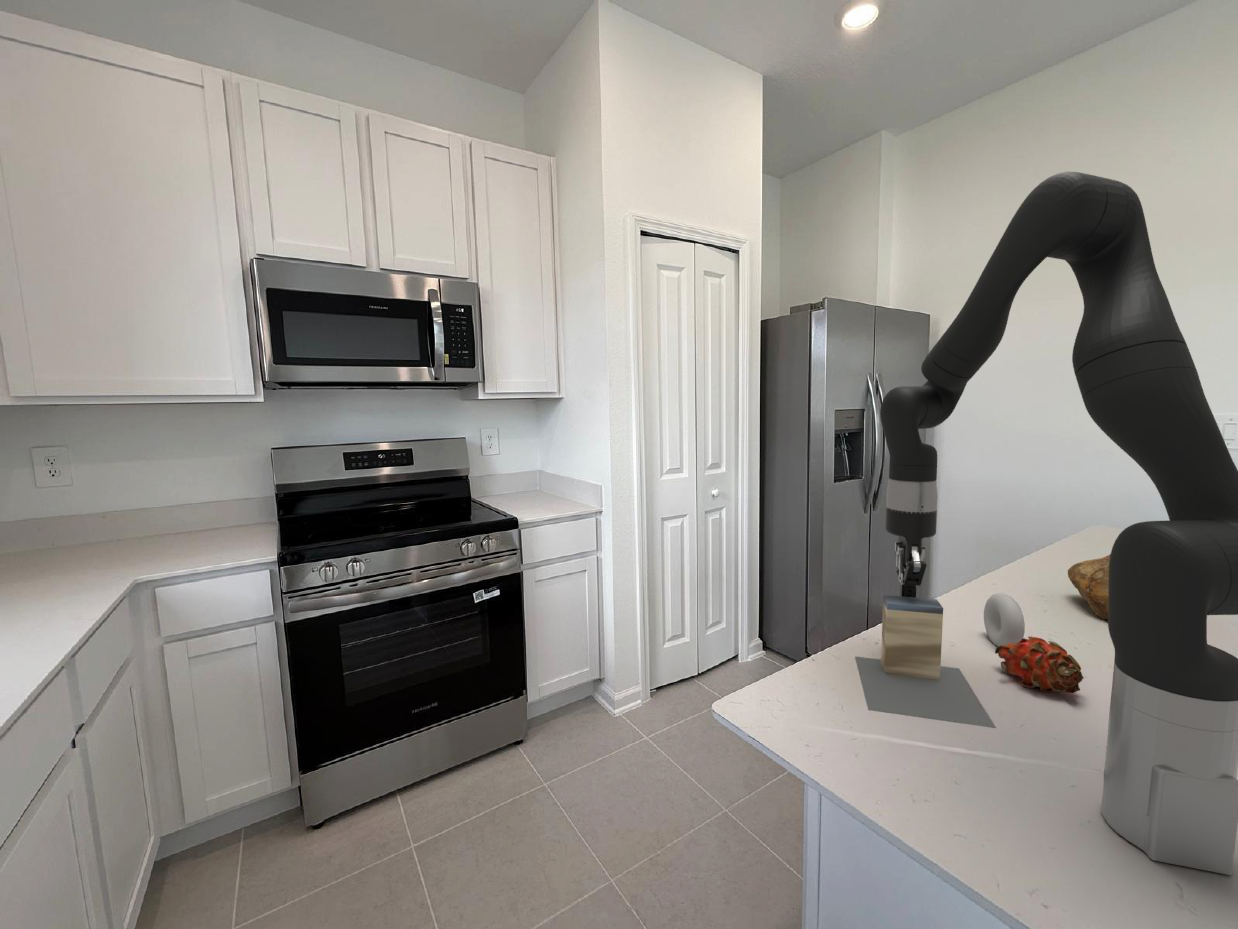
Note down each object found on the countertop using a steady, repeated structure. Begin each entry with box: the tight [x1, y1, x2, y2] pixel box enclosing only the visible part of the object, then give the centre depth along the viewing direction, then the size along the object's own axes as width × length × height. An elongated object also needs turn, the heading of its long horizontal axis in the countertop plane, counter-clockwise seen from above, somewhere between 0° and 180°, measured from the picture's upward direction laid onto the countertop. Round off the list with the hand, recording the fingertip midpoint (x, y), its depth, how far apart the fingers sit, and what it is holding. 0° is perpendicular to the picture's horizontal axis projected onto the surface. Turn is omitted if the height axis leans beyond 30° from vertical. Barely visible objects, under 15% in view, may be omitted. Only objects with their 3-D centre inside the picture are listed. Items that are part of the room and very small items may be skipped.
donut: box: [983, 592, 1026, 648], centre depth 97 cm, size 10×3×10 cm, turn 168°
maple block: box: [880, 594, 944, 680], centre depth 88 cm, size 4×8×12 cm, turn 72°
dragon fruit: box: [992, 636, 1085, 694], centre depth 84 cm, size 8×8×12 cm
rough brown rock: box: [1067, 553, 1111, 621], centre depth 112 cm, size 23×17×15 cm
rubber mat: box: [854, 656, 997, 729], centre depth 83 cm, size 17×16×1 cm
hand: (907, 605), depth 91 cm, fingers closed
